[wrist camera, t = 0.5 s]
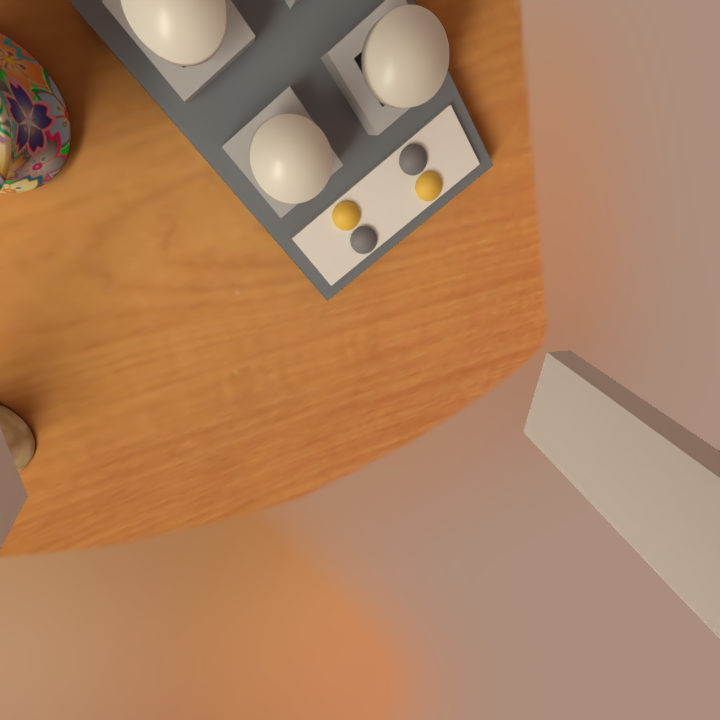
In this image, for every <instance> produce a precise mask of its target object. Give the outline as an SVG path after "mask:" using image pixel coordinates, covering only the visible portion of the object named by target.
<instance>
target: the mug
mask: <svg viewBox="0 0 720 720" xmlns="http://www.w3.org/2000/svg"><path fill="white" fill-rule="evenodd" d="M70 141H71V129H70V121H69V116H68V113H67V109H66V106H65V103H64V101H63V99H62V97H61V94H60V92H59V91H58V89H57V87H56V85H55V84H54V82H53V81H52V79H51V78H50V76H49V75H48V73H47V72H46V71H45V70H44V68H43V67H42V66H41V65H40V64H39V63H38V62H37V60H36V59H35V58H34V57H33V56H31V55H30V54H29V53H28V52H27V51H26V50H25V49H24V48H22V47H21V46H20V45H19V44H17V43H16V42H15V41H13V40H12V39H10V38H9V37H7V36H5V35H4V34H2V33H0V193H19V192H25V191H30V190H33V189H36V188H38V187H40V186H42V185H44V184H45V183H47V182H49V181H50V180H51V179H52V178H53V177H54V176H55V175H56V174H57V173H58V172H59V171H60V169H61V168H62V166H63V164H64V163H65V161H66V158H67V156H68V152H69V148H70Z"/></svg>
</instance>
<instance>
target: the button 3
mask: <svg viewBox="0 0 720 720" xmlns="http://www.w3.org/2000/svg"><path fill="white" fill-rule="evenodd" d="M249 161H250V166H251V169H252V172H253V174H254V177H255V179H256V180H257V182H258V184H259V185H260V187H261V188H262V189H263V190H264V191H265V192H266V193H267V194H268V195H270V196H271V197H273V198H274V199H276V200H278V201H281V202H284V203H290V204H297V203H303V202H306V201H309V200H311V199H313V198H314V197H316V196H317V195H318V194H319V193H320V192H321V191H322V190H323V189H324V187H325V186H326V184H327V182H328V180H329V178H330V175H331V171H332V152H331V148H330V144H329V142H328V140H327V138H326V136H325V134H324V133H323V131H322V130H321V129H320V128H319V127H318V126H317V125H316V124H315V123H314V122H312V121H311V120H309V119H308V118H306V117H303V116H300V115H296V114H281V115H276V116H274V117H271V118H269V119H267V120H266V121H264V122H263V123H262V124H261V125H260V126H259V127H258V128H257V130H256V131H255V133H254V135H253V137H252V140H251V143H250V148H249Z"/></svg>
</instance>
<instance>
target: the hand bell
mask: <svg viewBox="0 0 720 720" xmlns="http://www.w3.org/2000/svg"><path fill="white" fill-rule="evenodd" d="M0 428H1V430H2V433H3V435H4V438H5V440H6V443H7V445H8V448H9V450H10V453H11V455H12V458H13V460H14V463H15V465H16V468H17V470H18V473H19V472H20V471H21V470H23V469H24V468H25V467H26V466H27V465H28V463H29V462H30V461H31V459H32V457H33V454H34V449H35V441H34V437H33V435H32V432H31V430H30V428H29V427H28V425H27V424H26V423H25V422H24V421H23V420H22V419H21V418H20V417H19V416H18V415H17V414H15V413H14V412H13V411H11V410H10V409H8V408H6V407H4V406H2V405H0Z"/></svg>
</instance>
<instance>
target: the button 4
mask: <svg viewBox="0 0 720 720" xmlns="http://www.w3.org/2000/svg"><path fill="white" fill-rule="evenodd" d="M449 56H450V53H449V43H448V38H447V35H446V32H445V30H444V28H443V26H442V24H441V22H440V21H439V19H438V18H437V17H436V16H435V15H434V14H433V13H432V12H431V11H429V10H428V9H426V8H424V7H422V6H419V5H403V6H400V7H397V8H395V9H393V10H392V11H390V12H389V13H387V14H386V15H385V16H383V17H382V18H380V19H379V20H378V21H377V22H376V23H375V24H374V25H373V26H372V28H371V29H370V31H369V33H368V34H367V37H366V39H365V42H364V45H363V49H362V57H361V64H362V73H363V77H364V80H365V83H366V85H367V87H368V89H369V90H370V92H371V93H372V95H373V96H374V97H375V98H376V99H377V100H378V101H379V102H381V103H382V104H384V105H386V106H389V107H392V108H407V107H415V106H419V105H421V104H423V103H425V102H427V101H428V100H430V99H431V98H432V97H433V96H434V95H435V94H436V93H437V91H438V90H439V89H440V87H441V86H442V84H443V82H444V80H445V77H446V74H447V70H448V66H449Z"/></svg>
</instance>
